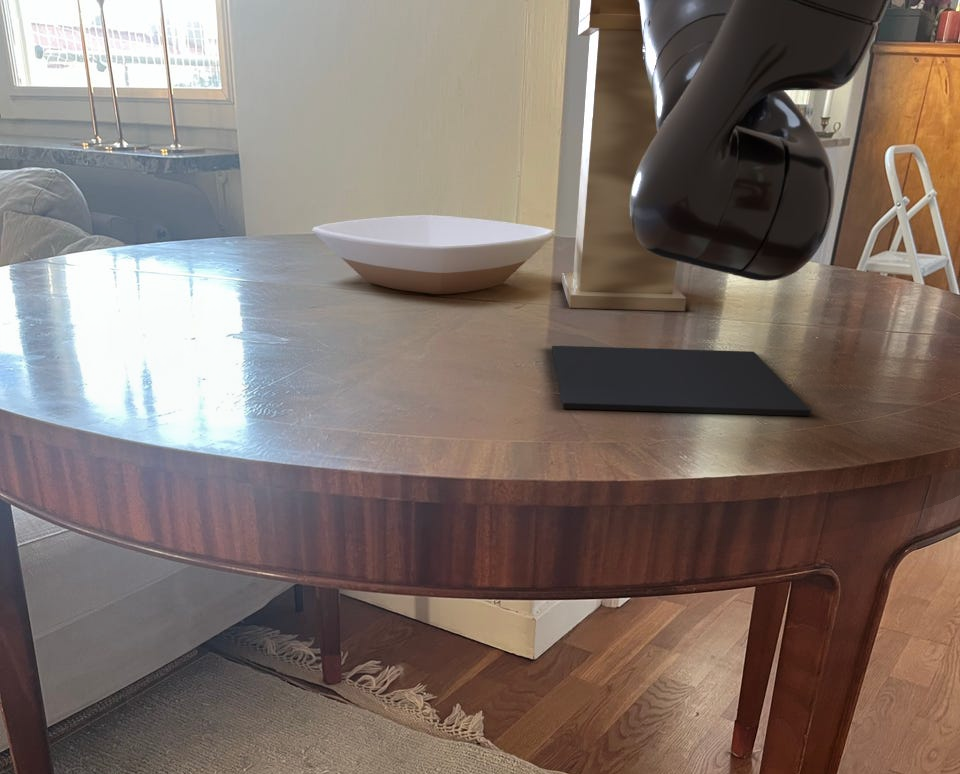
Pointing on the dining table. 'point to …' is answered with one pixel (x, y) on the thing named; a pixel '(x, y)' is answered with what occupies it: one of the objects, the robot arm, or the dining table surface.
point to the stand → (615, 170)
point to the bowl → (433, 251)
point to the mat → (671, 381)
